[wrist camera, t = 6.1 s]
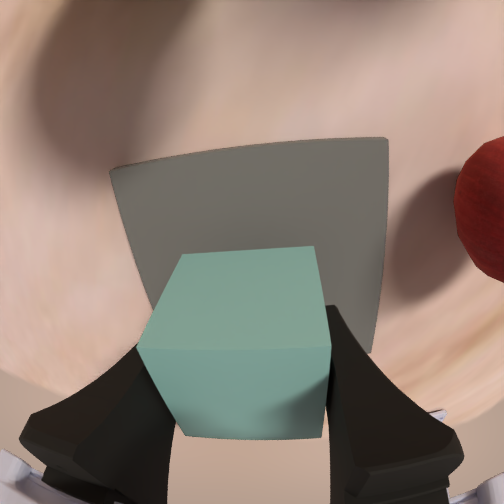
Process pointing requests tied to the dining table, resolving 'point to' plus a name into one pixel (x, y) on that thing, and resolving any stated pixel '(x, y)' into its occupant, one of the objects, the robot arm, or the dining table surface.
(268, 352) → the cube
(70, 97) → the dining table surface
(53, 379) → the dining table surface
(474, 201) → the onion
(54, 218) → the dining table surface
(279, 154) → the mat
